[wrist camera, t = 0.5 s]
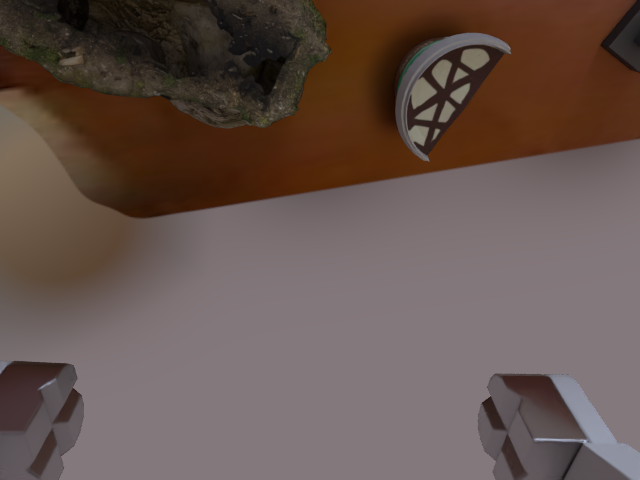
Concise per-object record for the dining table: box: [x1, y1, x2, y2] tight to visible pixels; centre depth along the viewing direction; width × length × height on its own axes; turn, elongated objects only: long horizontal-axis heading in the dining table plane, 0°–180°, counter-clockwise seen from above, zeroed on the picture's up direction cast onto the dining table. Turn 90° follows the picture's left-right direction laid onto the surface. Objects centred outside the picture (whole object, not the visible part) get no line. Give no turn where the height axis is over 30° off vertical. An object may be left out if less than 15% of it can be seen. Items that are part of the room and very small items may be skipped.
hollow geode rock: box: [0, 0, 332, 128], centre depth 44 cm, size 28×13×15 cm
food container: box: [394, 33, 511, 161], centre depth 46 cm, size 12×6×10 cm, turn 148°
